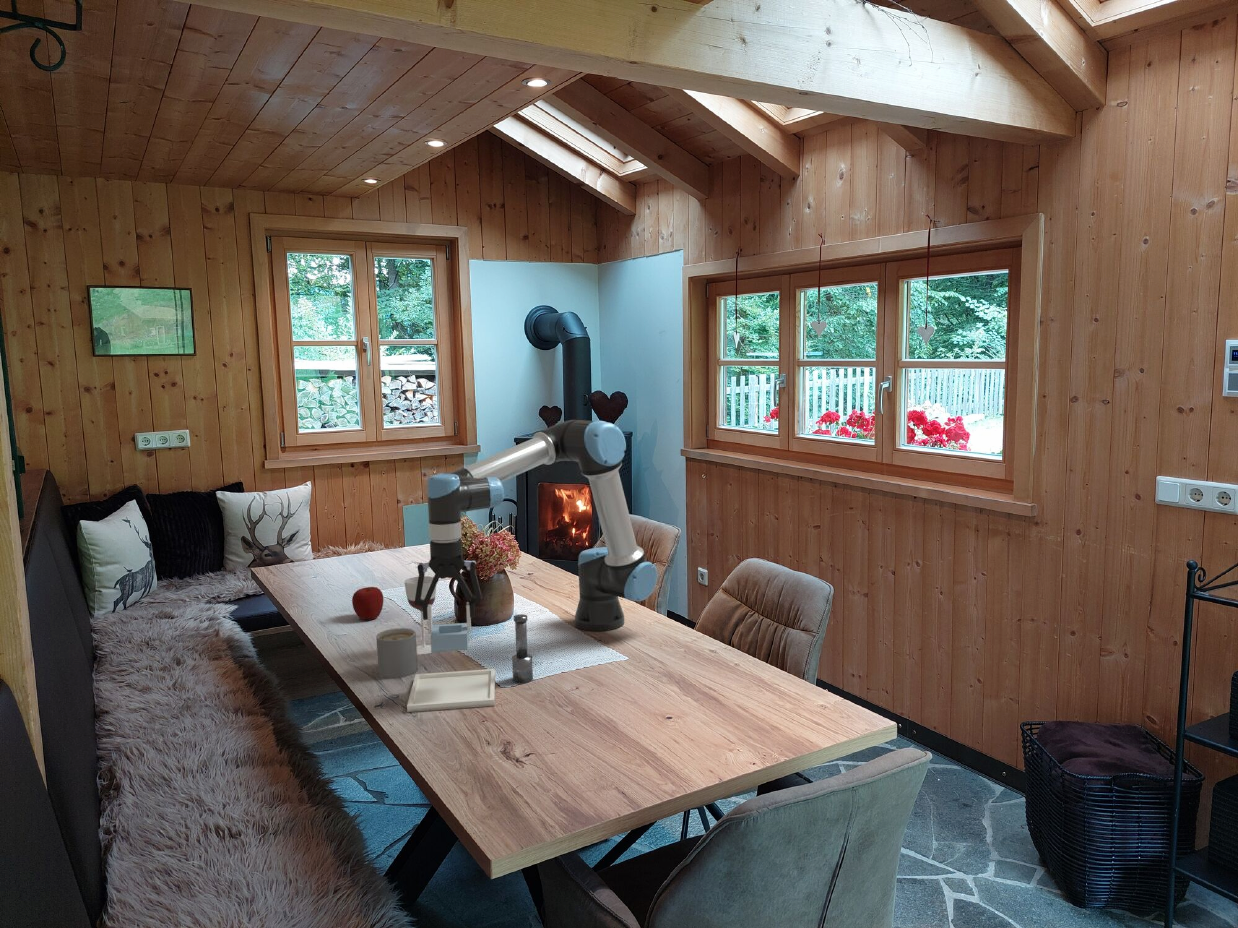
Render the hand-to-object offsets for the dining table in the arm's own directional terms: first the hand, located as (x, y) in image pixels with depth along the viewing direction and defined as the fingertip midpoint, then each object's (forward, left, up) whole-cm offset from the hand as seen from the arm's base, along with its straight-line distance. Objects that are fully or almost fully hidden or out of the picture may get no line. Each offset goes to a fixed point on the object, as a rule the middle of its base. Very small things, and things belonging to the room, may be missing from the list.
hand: (449, 630), depth 207 cm
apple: (+30, -66, -16) cm, 74 cm away
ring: (0, 0, -4) cm, 4 cm away
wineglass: (+10, -33, -16) cm, 38 cm away
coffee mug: (+16, -19, -16) cm, 29 cm away
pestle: (-17, -5, -16) cm, 24 cm away
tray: (0, 0, -16) cm, 16 cm away
